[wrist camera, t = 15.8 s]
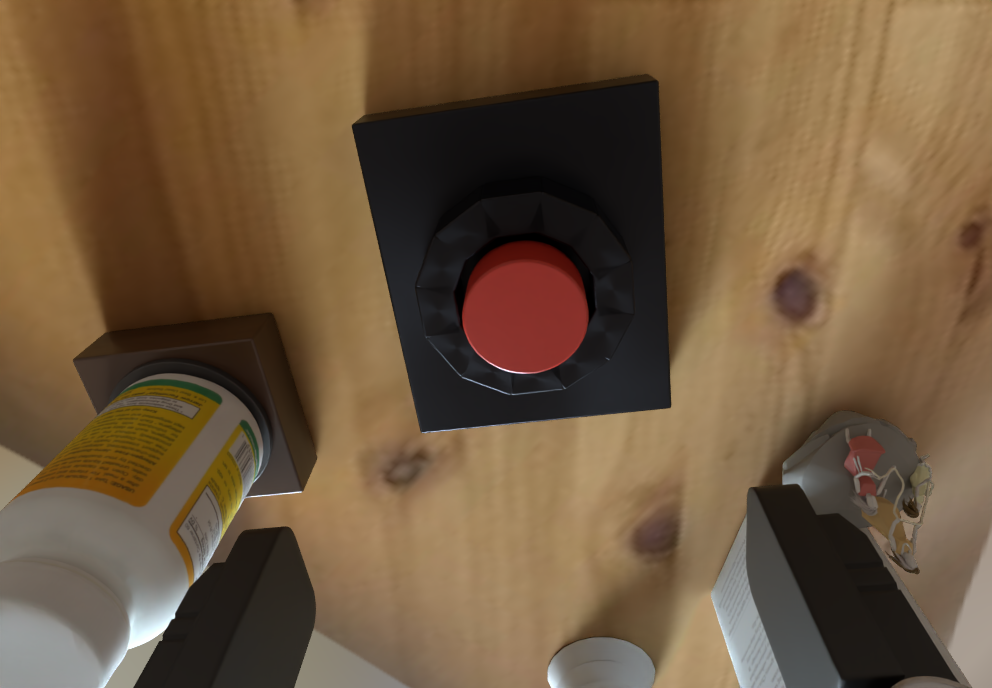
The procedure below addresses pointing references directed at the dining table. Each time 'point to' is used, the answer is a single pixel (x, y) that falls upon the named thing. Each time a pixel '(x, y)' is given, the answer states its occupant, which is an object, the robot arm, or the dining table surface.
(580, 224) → the button housing
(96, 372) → the stand
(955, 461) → the dining table surface
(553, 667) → the chalice
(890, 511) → the figurine
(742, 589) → the cosmetic box
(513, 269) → the button
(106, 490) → the supplement bottle
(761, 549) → the robot arm
